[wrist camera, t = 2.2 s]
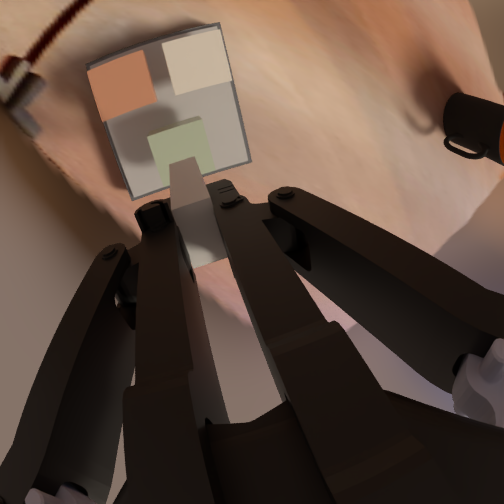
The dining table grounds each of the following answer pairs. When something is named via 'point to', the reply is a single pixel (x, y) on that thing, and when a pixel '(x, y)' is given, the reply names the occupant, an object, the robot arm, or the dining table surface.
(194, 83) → the cream key
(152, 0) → the dining table surface
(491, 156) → the mug
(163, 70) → the keypad
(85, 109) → the dining table surface
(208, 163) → the sage key
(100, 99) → the terracotta key
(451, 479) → the robot arm
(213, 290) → the dining table surface
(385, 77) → the dining table surface
